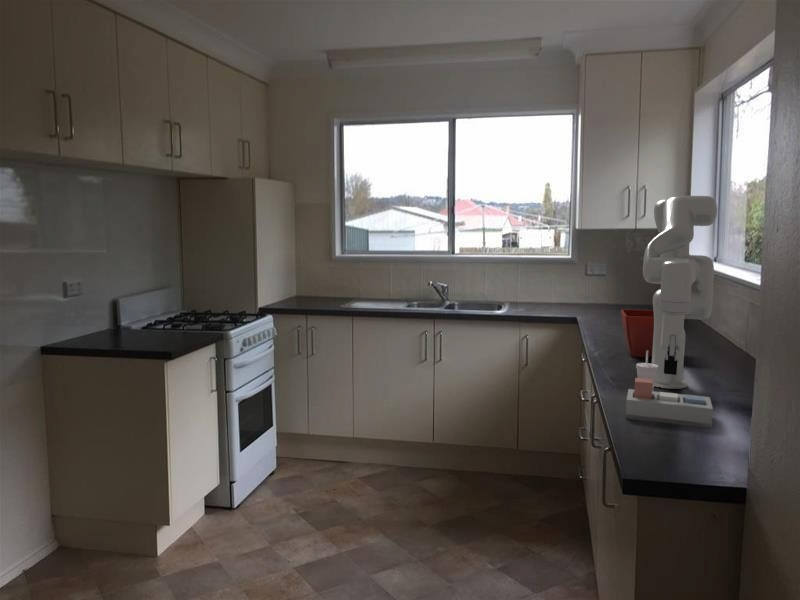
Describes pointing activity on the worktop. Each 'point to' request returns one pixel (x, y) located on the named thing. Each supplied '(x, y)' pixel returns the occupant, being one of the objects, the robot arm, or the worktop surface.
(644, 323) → the plant pot
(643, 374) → the smoothie
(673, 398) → the white key
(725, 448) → the worktop surface
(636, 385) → the red key
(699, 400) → the blue key
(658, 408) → the keypad housing
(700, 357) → the worktop surface
